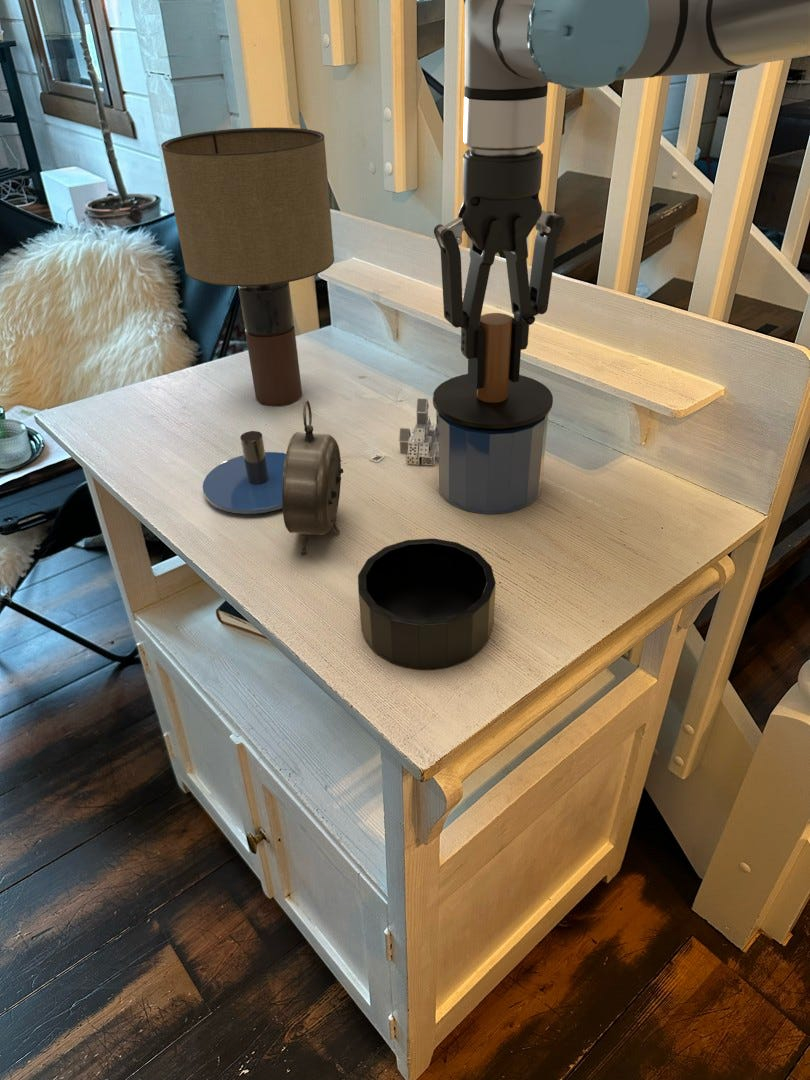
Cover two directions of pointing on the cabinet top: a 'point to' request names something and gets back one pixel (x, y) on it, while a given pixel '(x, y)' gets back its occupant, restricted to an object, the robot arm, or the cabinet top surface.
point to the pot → (490, 465)
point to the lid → (494, 387)
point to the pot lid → (247, 479)
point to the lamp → (255, 232)
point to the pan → (426, 603)
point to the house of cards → (418, 439)
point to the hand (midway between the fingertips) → (493, 379)
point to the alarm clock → (311, 482)
